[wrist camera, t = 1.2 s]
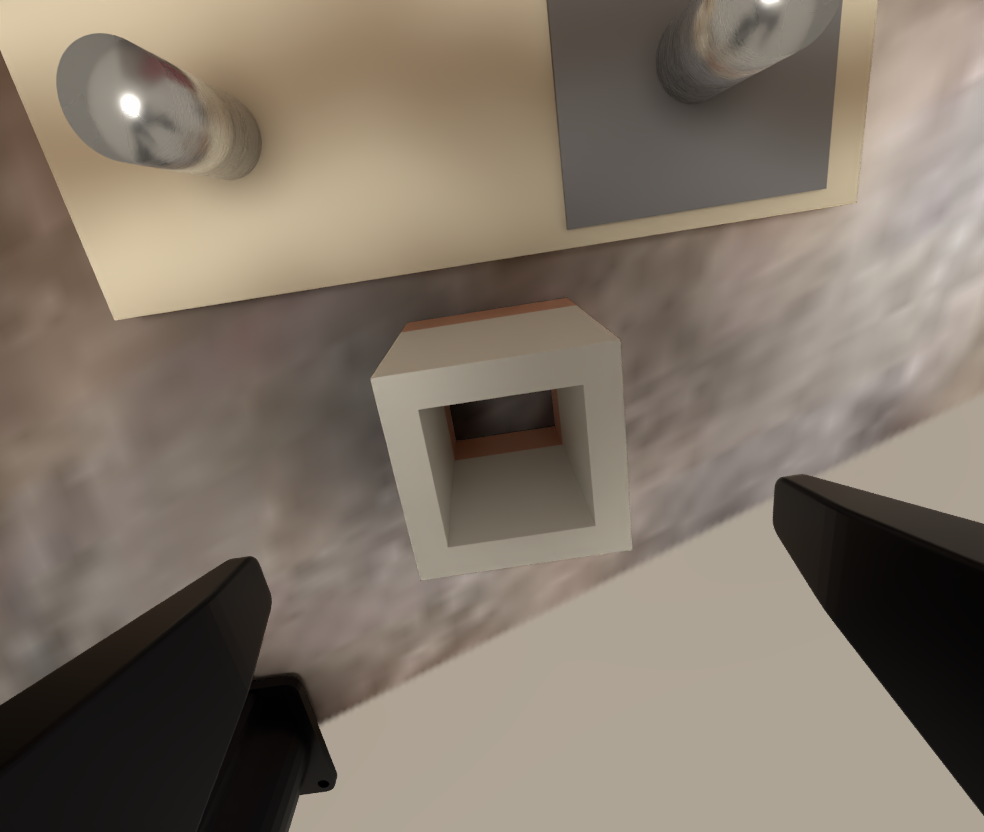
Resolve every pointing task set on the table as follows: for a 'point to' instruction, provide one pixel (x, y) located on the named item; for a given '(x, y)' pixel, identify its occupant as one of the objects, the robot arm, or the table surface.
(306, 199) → the pin board
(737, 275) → the table surface
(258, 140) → the pins
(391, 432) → the sleeve
